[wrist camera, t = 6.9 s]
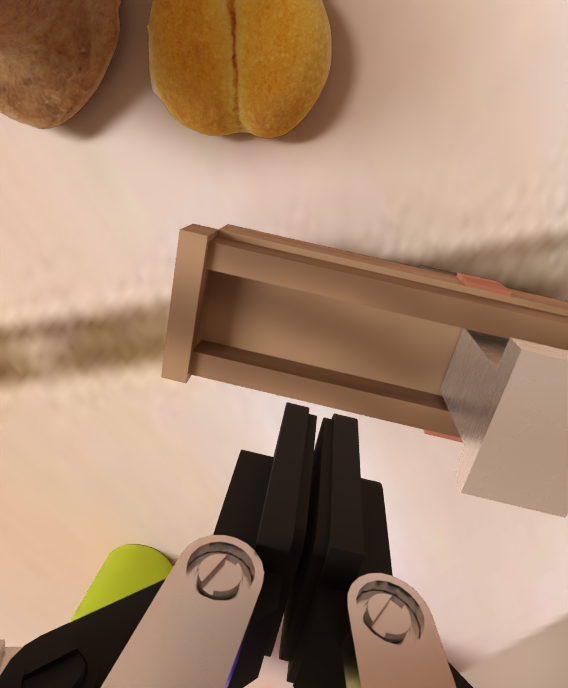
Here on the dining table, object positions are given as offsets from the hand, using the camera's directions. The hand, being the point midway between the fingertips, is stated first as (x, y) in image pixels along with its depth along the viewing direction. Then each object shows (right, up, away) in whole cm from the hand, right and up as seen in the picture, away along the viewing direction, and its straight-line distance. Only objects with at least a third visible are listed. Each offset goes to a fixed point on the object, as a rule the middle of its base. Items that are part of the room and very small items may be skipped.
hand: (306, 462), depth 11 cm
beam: (+9, +4, +17) cm, 20 cm away
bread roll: (-3, +18, +14) cm, 23 cm away
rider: (+9, +2, +12) cm, 15 cm away
